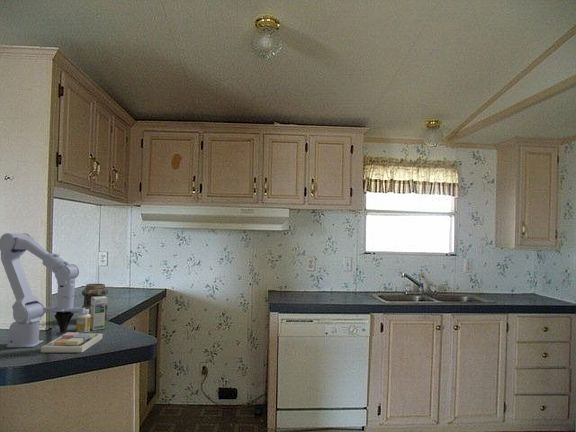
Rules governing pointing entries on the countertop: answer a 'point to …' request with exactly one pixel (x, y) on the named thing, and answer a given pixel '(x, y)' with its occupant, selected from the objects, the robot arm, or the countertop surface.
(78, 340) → the block
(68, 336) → the key rose
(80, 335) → the key slate
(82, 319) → the supplement bottle
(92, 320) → the syrup box
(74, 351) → the cream shallow tray
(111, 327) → the countertop surface
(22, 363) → the countertop surface
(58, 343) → the key terracotta
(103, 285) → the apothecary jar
